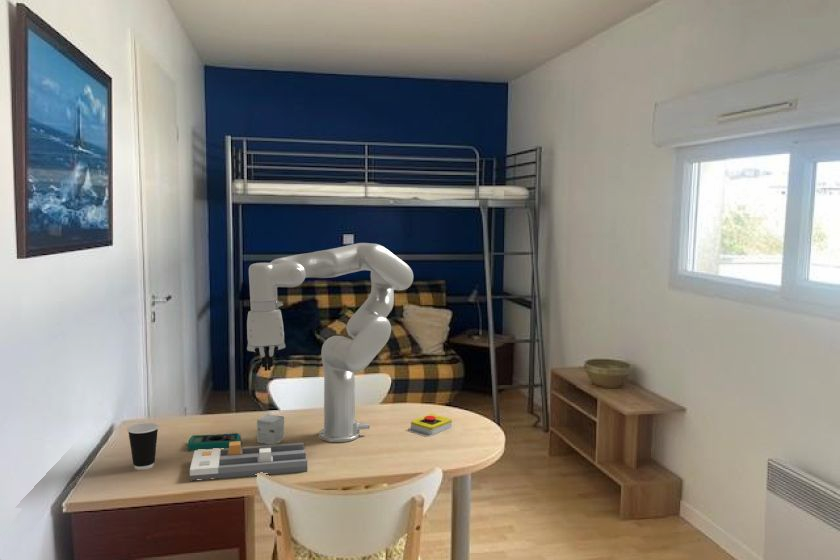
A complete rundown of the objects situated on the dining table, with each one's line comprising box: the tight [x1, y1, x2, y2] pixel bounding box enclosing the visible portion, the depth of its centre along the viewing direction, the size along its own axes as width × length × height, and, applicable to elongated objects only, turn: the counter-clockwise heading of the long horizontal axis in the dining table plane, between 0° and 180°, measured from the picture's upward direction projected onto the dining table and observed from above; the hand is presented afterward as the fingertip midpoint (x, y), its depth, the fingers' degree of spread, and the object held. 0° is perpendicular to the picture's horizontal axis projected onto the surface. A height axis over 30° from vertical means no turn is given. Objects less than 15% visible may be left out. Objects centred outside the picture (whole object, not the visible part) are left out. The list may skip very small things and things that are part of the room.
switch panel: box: [189, 442, 308, 481], centre depth 175 cm, size 30×14×3 cm, turn 105°
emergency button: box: [407, 413, 453, 438], centre depth 209 cm, size 9×4×15 cm
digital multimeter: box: [187, 432, 242, 451], centre depth 191 cm, size 7×15×3 cm, turn 103°
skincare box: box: [256, 414, 285, 445], centre depth 195 cm, size 6×6×7 cm
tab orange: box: [227, 440, 243, 456], centre depth 177 cm, size 4×4×4 cm
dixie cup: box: [126, 422, 160, 471], centre depth 174 cm, size 8×8×11 cm
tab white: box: [258, 448, 273, 463], centre depth 173 cm, size 4×4×4 cm
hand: (267, 369), depth 183 cm, fingers closed
